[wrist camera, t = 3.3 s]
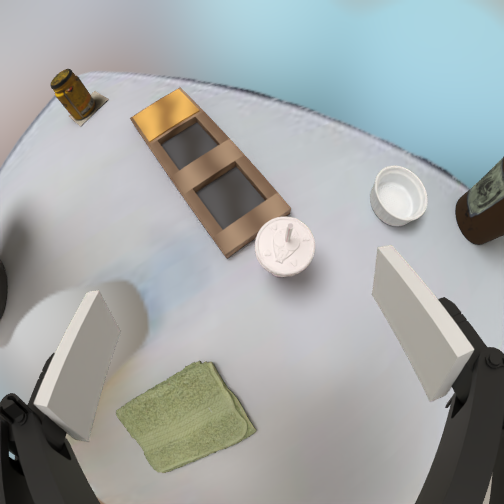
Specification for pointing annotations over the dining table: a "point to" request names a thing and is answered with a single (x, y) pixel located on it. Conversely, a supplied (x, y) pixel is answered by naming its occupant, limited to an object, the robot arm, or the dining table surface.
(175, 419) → the washcloth
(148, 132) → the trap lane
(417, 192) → the ramekin
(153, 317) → the dining table surface
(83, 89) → the condiment
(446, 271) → the dining table surface
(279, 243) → the smoothie
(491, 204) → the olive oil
